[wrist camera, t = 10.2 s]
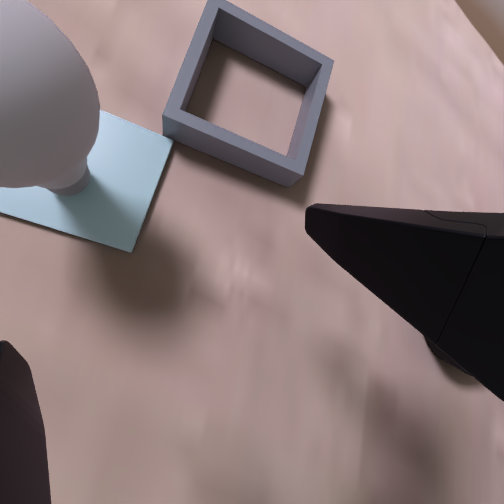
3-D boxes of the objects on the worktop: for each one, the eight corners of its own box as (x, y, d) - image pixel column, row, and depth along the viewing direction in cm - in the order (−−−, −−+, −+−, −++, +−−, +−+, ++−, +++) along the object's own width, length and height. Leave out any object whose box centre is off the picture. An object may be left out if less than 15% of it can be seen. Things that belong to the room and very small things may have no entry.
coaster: (131, 253, 18) (131, 252, 18) (-13, 208, 16) (-18, 206, 16) (173, 143, 20) (173, 140, 19) (46, 90, 18) (43, 86, 17)
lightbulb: (-5, 138, 16) (-304, -130, 6) (110, 125, 18) (39, -94, 8) (24, 241, 16) (-233, 155, 6) (137, 216, 18) (101, 118, 8)
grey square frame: (288, 187, 22) (303, 175, 19) (162, 135, 19) (162, 114, 17) (317, 83, 24) (334, 60, 21) (205, 24, 21) (210, -9, 19)
